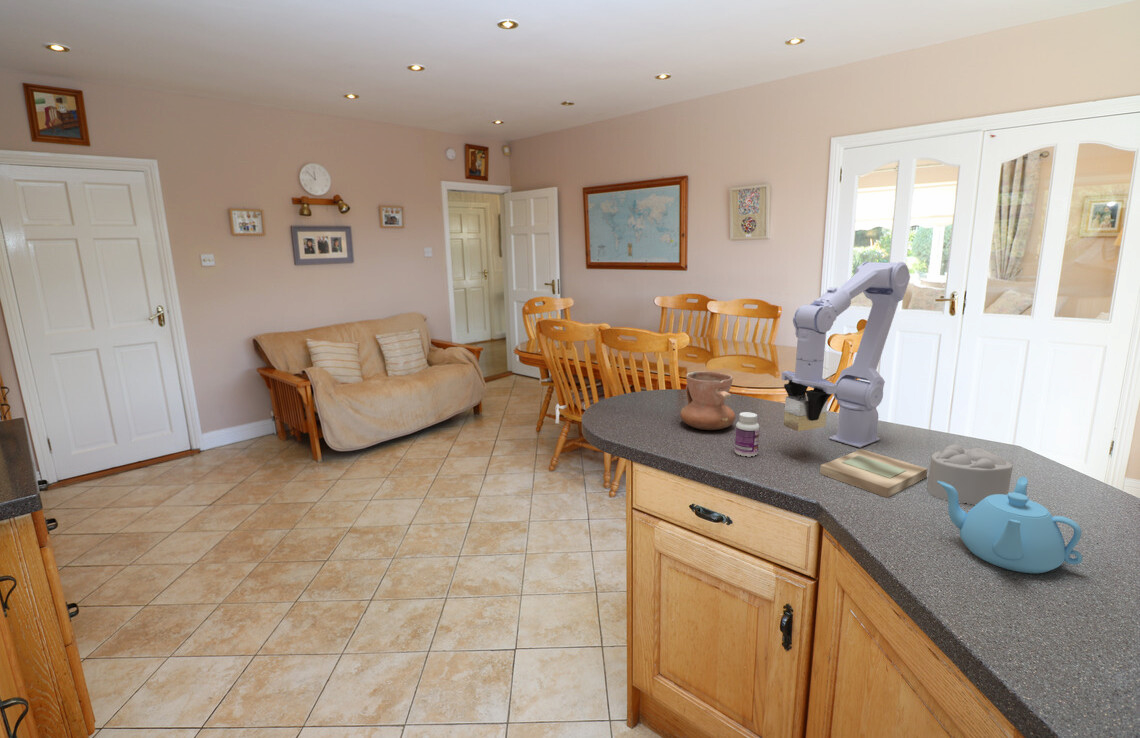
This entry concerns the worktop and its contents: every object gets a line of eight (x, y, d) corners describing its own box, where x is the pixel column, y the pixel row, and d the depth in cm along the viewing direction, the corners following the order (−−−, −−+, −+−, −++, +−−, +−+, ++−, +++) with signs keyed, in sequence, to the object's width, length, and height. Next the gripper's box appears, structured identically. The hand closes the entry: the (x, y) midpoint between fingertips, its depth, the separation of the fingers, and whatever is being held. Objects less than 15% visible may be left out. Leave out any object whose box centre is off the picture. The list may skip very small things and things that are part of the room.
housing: (810, 420, 130) (812, 391, 128) (825, 426, 125) (828, 396, 124) (783, 425, 127) (785, 395, 125) (797, 431, 123) (800, 400, 121)
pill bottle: (759, 458, 127) (761, 418, 124) (735, 456, 128) (737, 417, 125) (756, 449, 132) (758, 411, 130) (733, 448, 133) (735, 410, 131)
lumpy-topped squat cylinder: (1016, 503, 103) (1023, 460, 101) (951, 507, 102) (957, 463, 100) (972, 480, 113) (978, 441, 111) (912, 483, 112) (917, 443, 110)
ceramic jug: (749, 432, 144) (751, 379, 141) (701, 438, 139) (703, 384, 137) (709, 414, 161) (711, 366, 158) (666, 419, 156) (667, 370, 153)
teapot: (1097, 581, 79) (1112, 517, 77) (997, 585, 79) (1009, 520, 77) (1013, 530, 94) (1024, 474, 91) (928, 533, 93) (936, 477, 91)
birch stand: (860, 457, 126) (861, 448, 126) (926, 477, 115) (927, 467, 114) (820, 473, 117) (820, 464, 117) (886, 497, 106) (888, 487, 106)
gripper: (772, 354, 128) (769, 410, 131) (821, 366, 115) (815, 428, 118) (796, 352, 130) (792, 406, 133) (846, 363, 117) (840, 424, 120)
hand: (805, 416), depth 126 cm, fingers closed on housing, 4 cm apart
